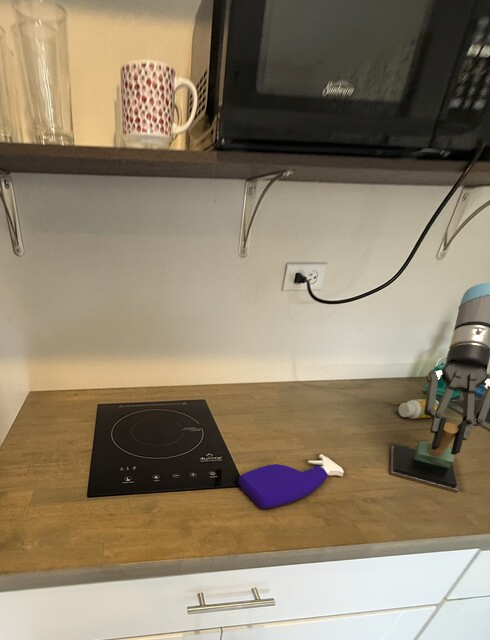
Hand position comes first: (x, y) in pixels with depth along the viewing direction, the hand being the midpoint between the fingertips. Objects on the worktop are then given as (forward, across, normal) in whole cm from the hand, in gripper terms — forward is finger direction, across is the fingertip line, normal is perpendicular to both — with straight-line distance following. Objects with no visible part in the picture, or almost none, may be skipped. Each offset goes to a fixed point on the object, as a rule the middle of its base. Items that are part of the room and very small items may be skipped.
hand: (445, 450), depth 82 cm
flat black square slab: (+3, -1, +10) cm, 10 cm away
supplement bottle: (-21, +2, +30) cm, 36 cm away
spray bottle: (+17, -27, -4) cm, 32 cm away
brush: (-1, 0, +10) cm, 10 cm away
